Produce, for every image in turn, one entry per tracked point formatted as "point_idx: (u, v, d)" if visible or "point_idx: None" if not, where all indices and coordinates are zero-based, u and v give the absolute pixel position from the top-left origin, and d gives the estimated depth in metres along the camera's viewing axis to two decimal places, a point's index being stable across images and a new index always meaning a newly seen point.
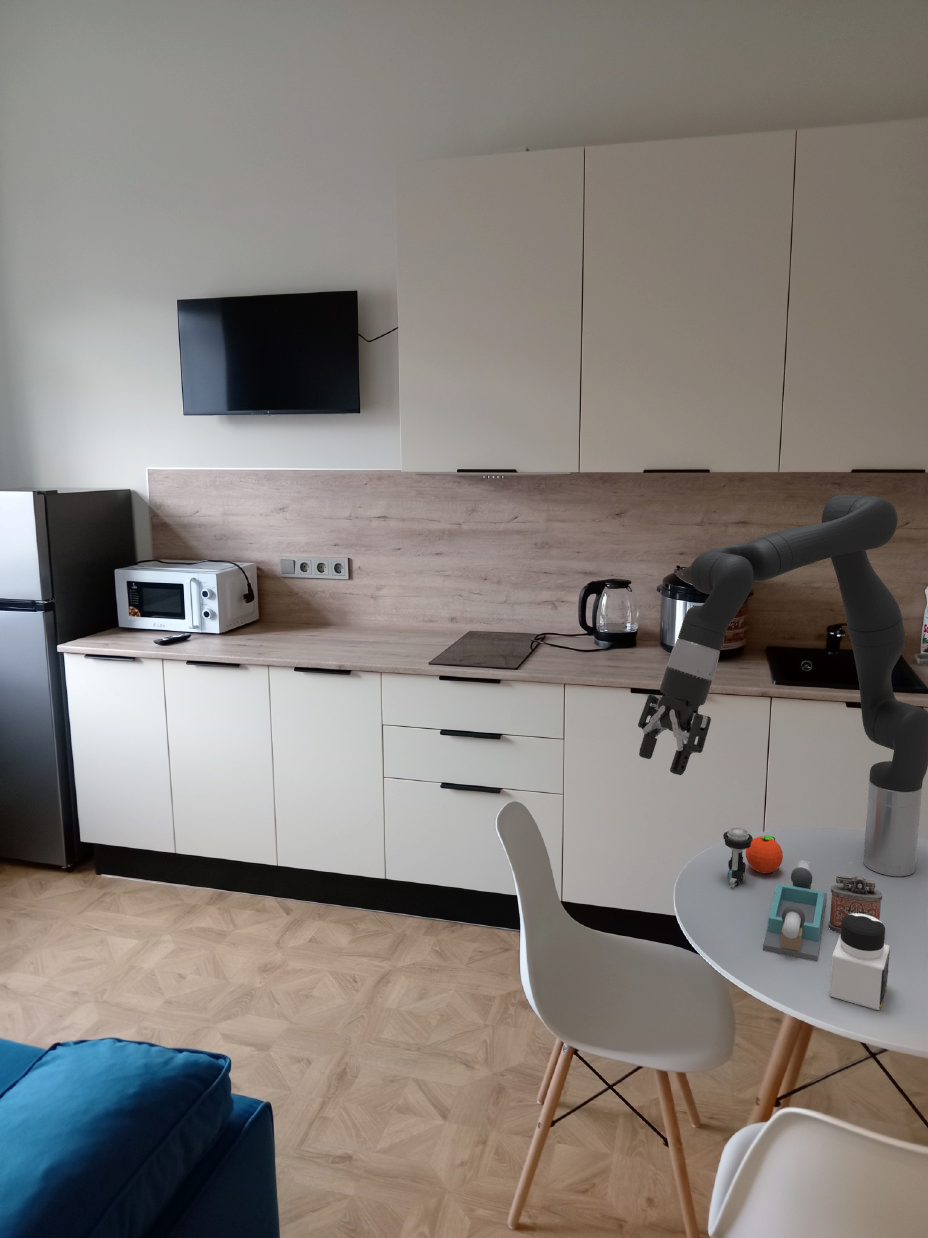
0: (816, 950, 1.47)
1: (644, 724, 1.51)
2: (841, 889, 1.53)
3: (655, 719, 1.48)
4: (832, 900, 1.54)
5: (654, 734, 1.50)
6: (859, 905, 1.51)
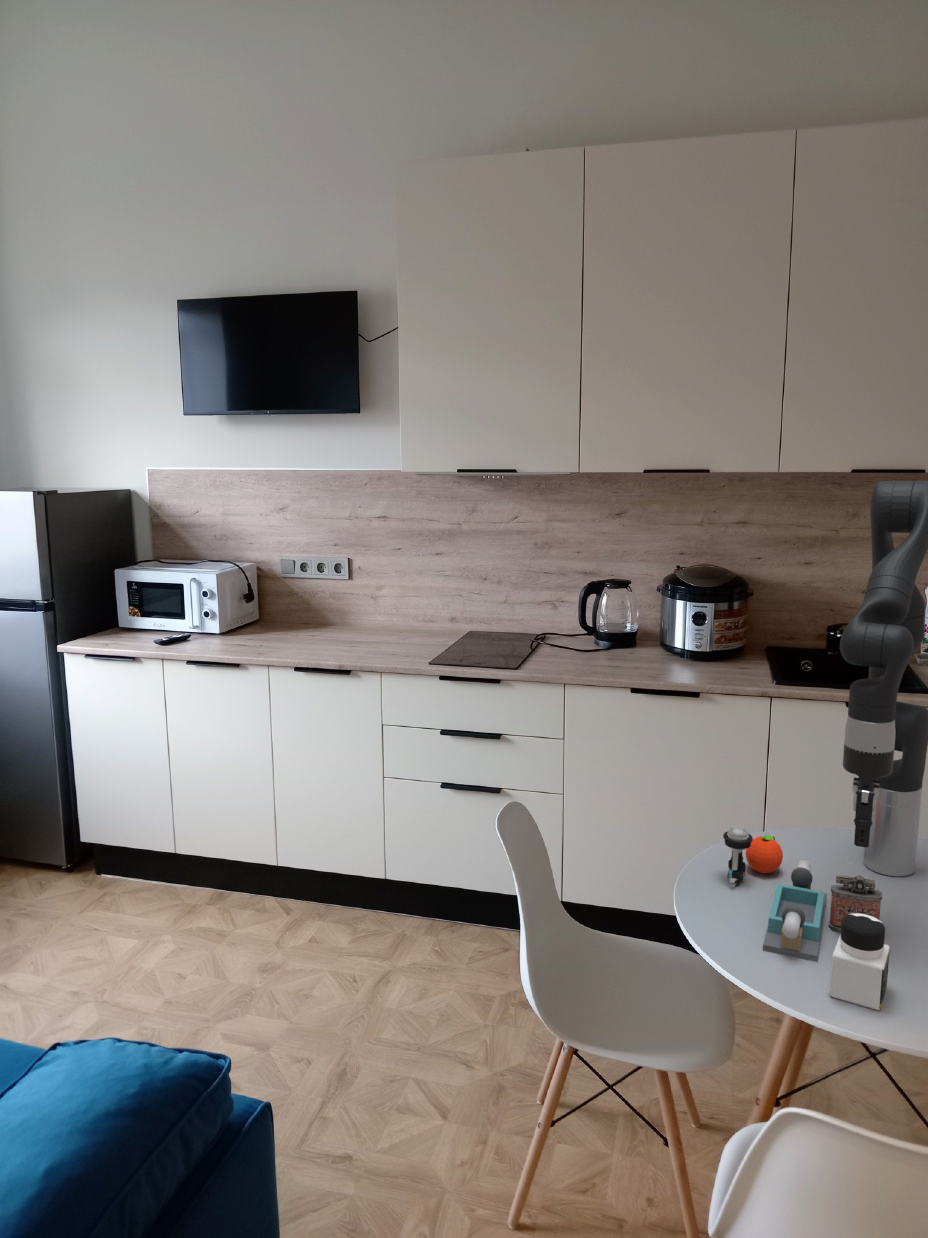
0: (816, 950, 1.47)
1: None
2: (841, 889, 1.53)
3: None
4: (832, 900, 1.54)
5: None
6: (859, 905, 1.51)
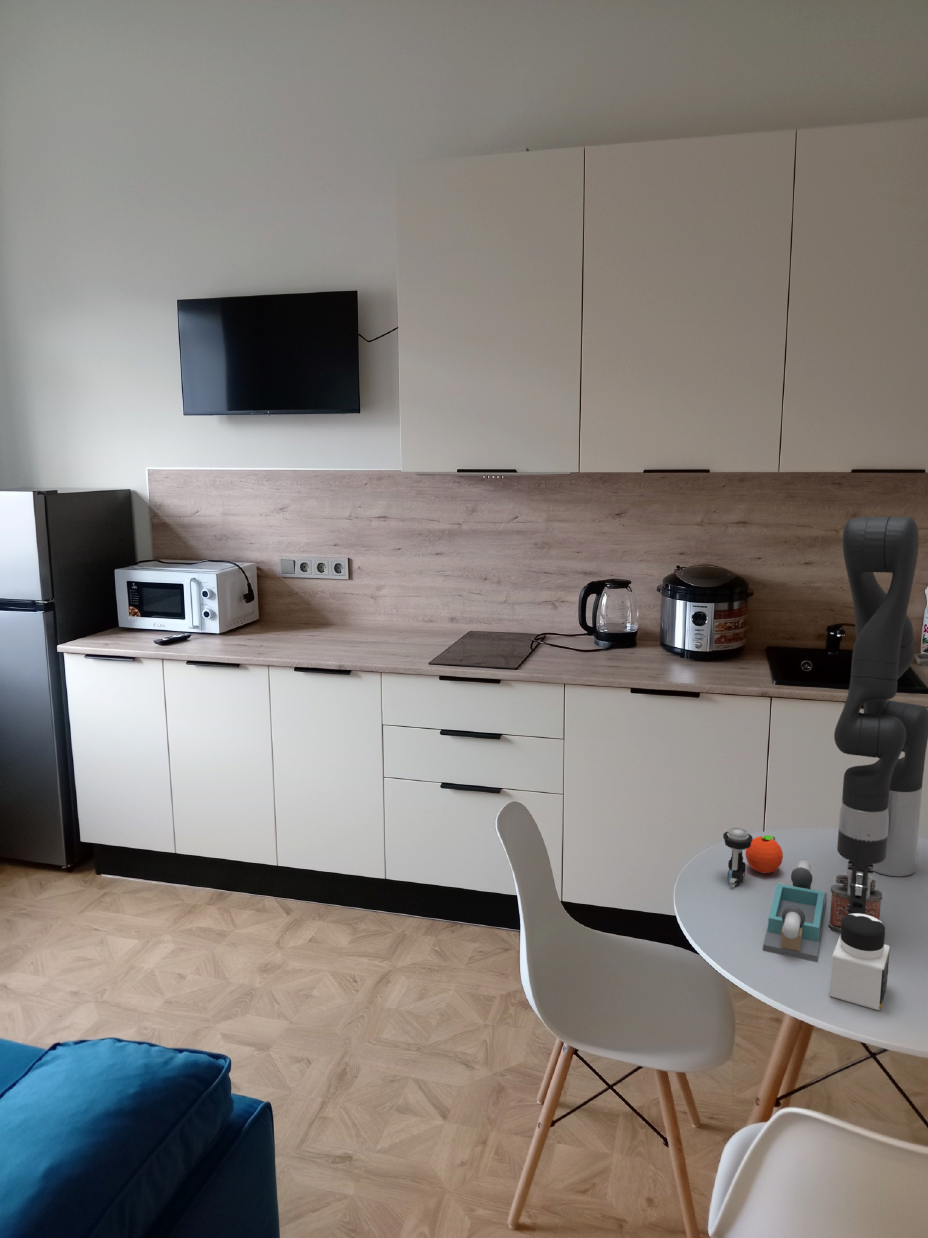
0: (816, 950, 1.47)
1: None
2: (841, 889, 1.53)
3: None
4: (832, 900, 1.54)
5: None
6: None
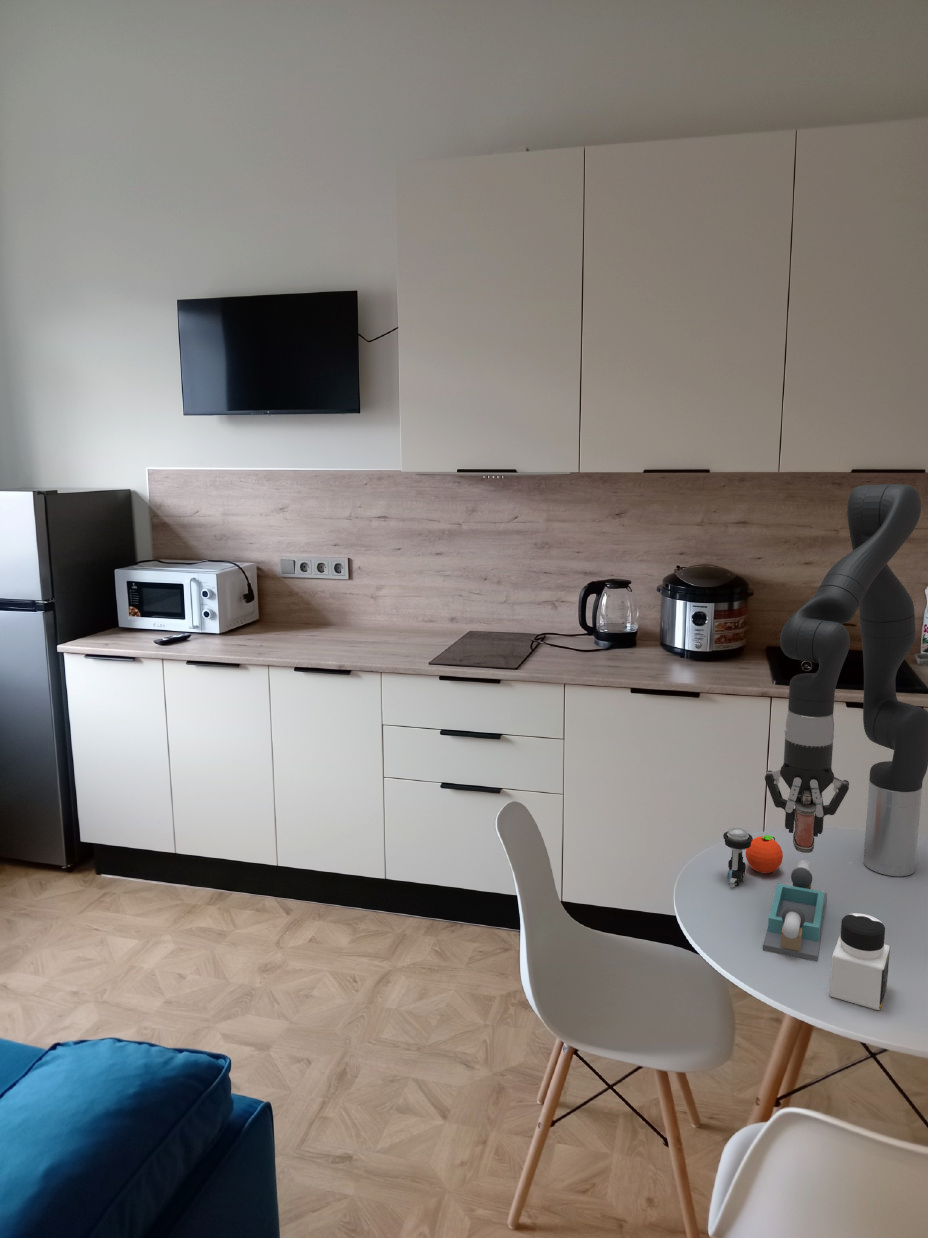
0: (816, 950, 1.47)
1: (781, 801, 1.53)
2: (807, 807, 1.49)
3: (795, 793, 1.51)
4: (809, 822, 1.48)
5: (793, 807, 1.53)
6: None
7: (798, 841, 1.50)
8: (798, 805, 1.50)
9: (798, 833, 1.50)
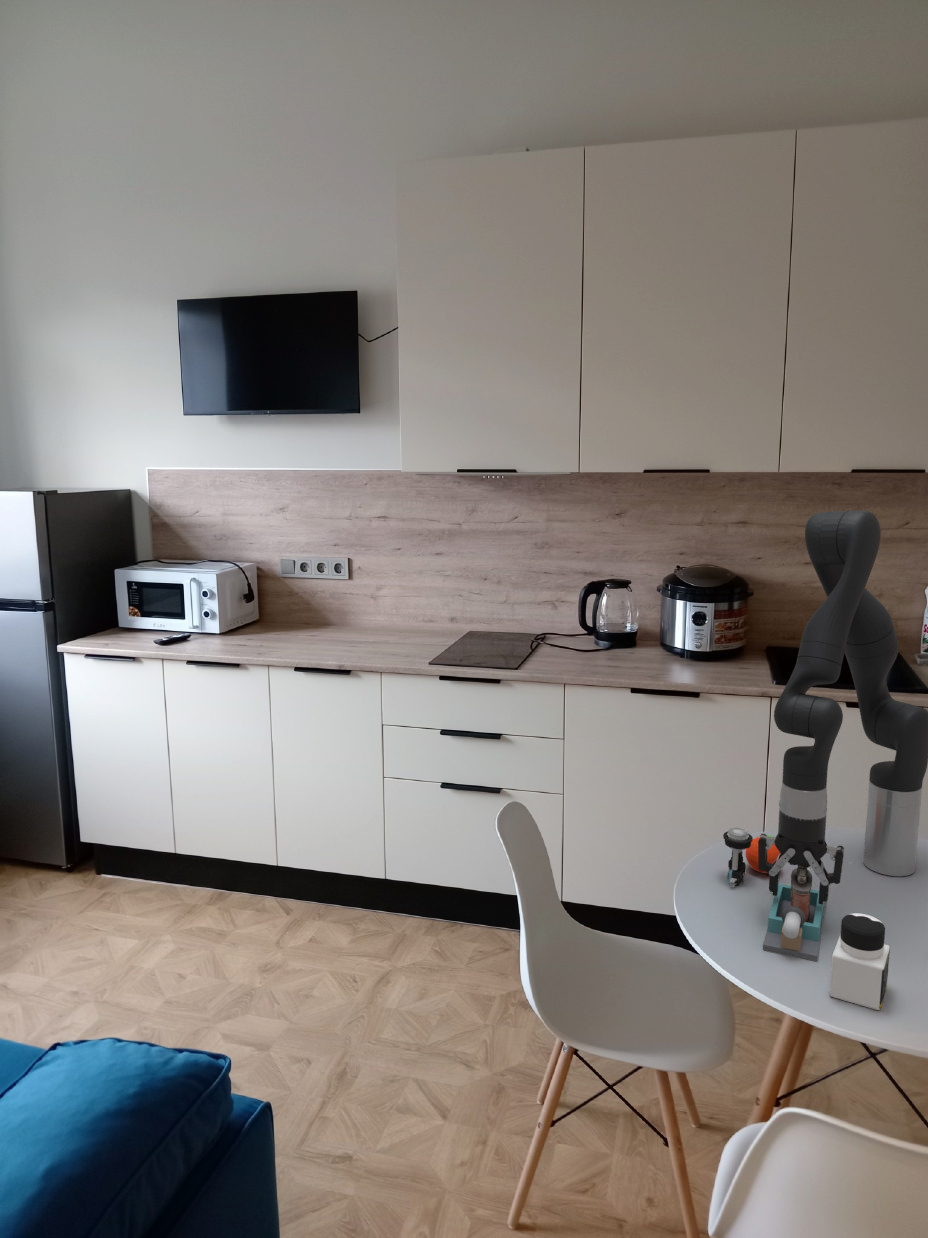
0: (816, 950, 1.47)
1: (766, 866, 1.56)
2: (802, 886, 1.52)
3: (784, 862, 1.54)
4: (803, 901, 1.51)
5: None
6: None
7: None
8: (794, 884, 1.53)
9: None
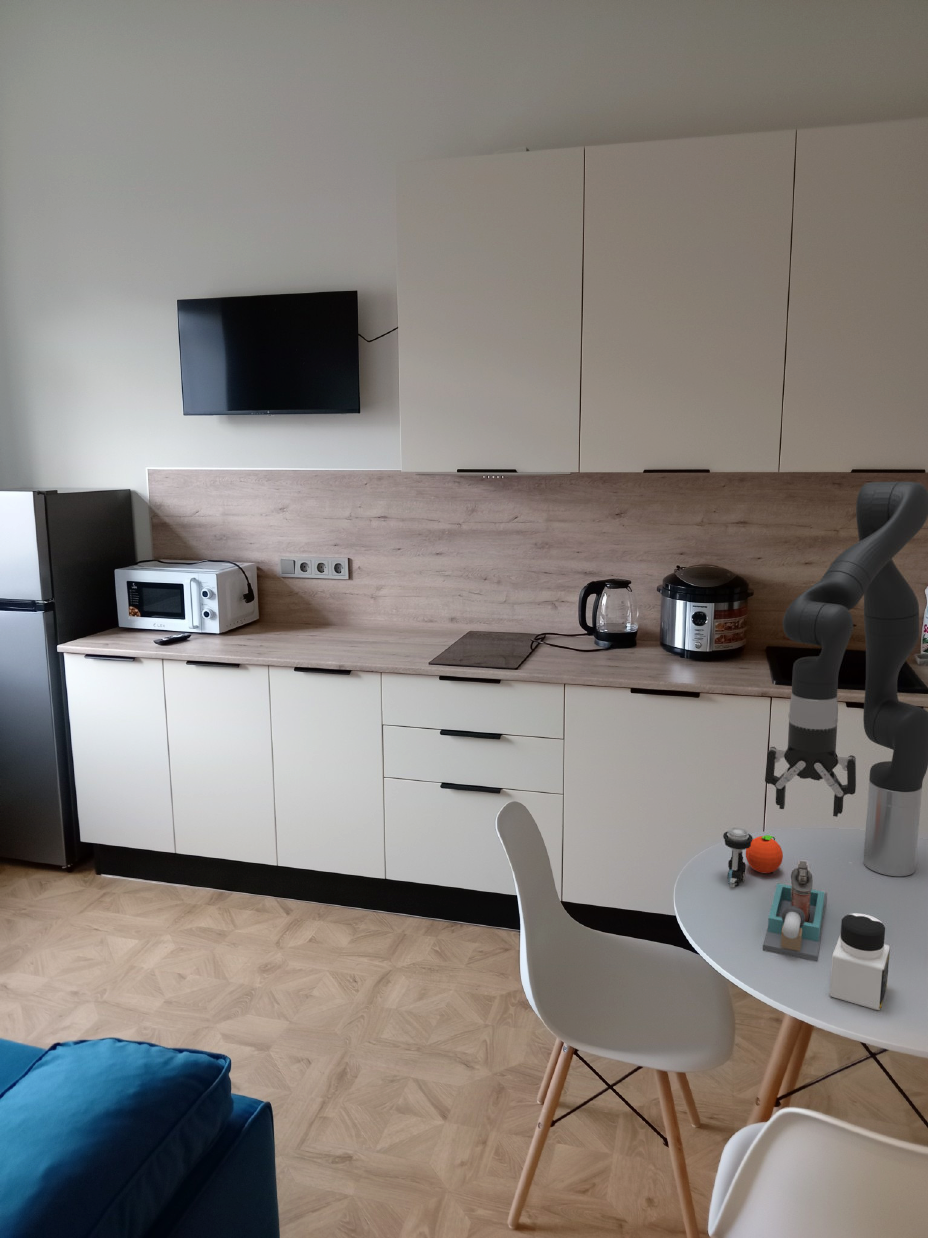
0: (816, 950, 1.47)
1: (772, 779, 1.53)
2: (803, 886, 1.52)
3: (793, 774, 1.51)
4: (804, 901, 1.51)
5: None
6: None
7: None
8: (794, 884, 1.53)
9: None
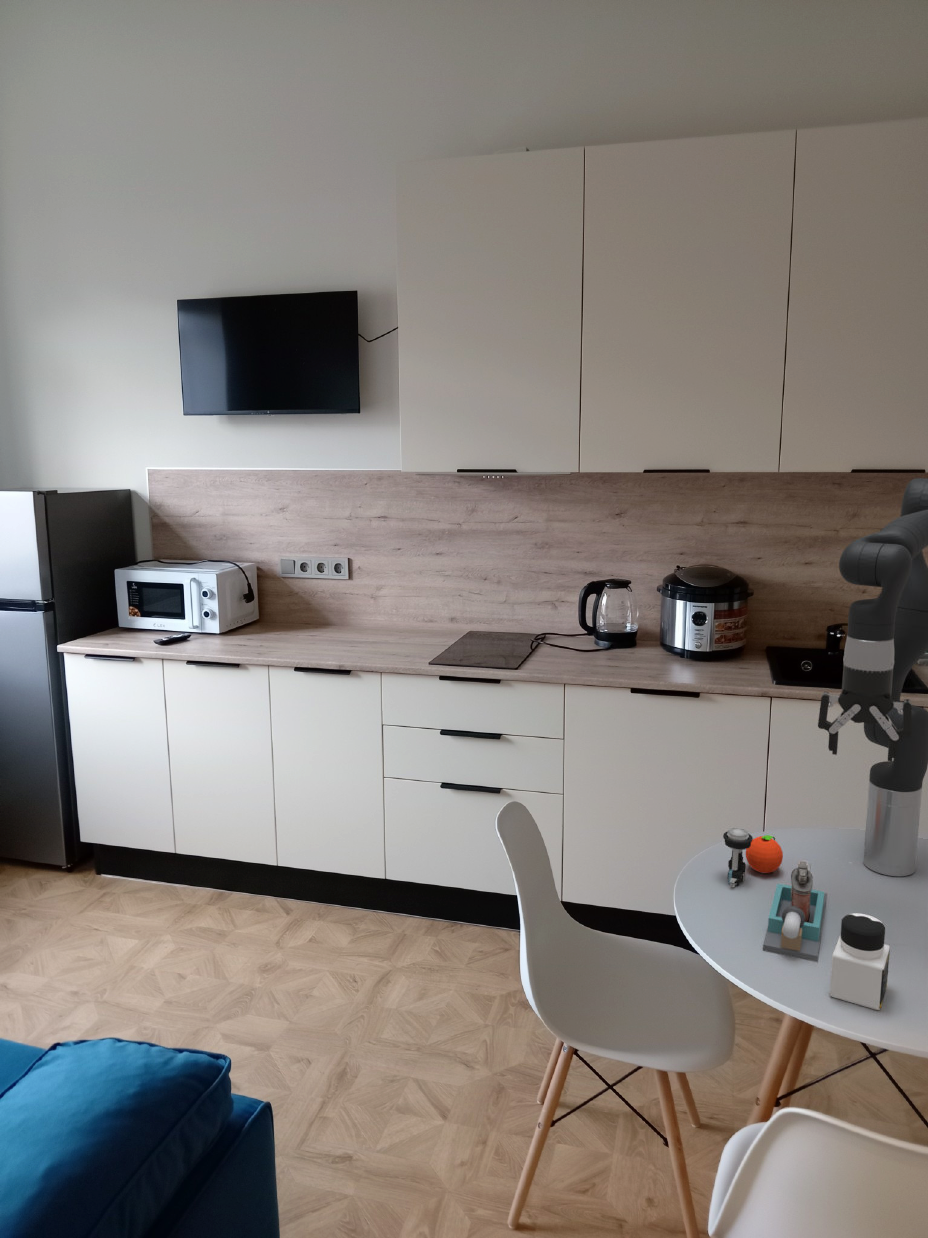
0: (816, 950, 1.47)
1: (825, 724, 1.52)
2: (803, 886, 1.52)
3: (847, 718, 1.50)
4: (804, 901, 1.51)
5: None
6: None
7: None
8: (794, 884, 1.53)
9: None
